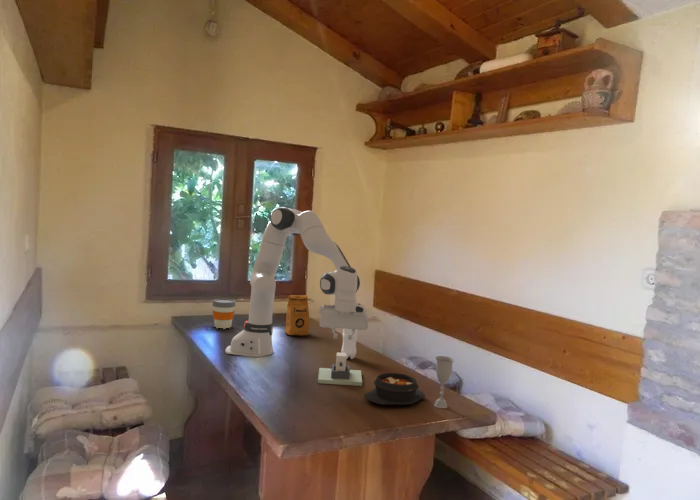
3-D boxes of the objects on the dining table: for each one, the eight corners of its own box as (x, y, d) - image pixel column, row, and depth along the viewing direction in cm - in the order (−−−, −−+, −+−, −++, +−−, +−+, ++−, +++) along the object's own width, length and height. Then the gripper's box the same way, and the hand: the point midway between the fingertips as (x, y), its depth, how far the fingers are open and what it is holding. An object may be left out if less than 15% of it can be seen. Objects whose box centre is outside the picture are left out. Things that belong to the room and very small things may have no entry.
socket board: (317, 383, 219) (318, 372, 219) (319, 371, 235) (319, 361, 235) (362, 385, 220) (362, 375, 219) (360, 373, 236) (361, 363, 235)
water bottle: (354, 360, 255) (358, 308, 253) (339, 358, 257) (343, 306, 255) (357, 356, 262) (360, 305, 260) (342, 355, 264) (346, 304, 262)
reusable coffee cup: (209, 324, 307) (210, 298, 306) (231, 324, 312) (232, 298, 311) (213, 330, 295) (215, 302, 294) (236, 329, 301) (237, 302, 300)
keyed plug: (335, 379, 221) (336, 357, 220) (335, 372, 230) (336, 351, 229) (344, 379, 221) (346, 358, 220) (344, 373, 230) (346, 352, 229)
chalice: (429, 401, 207) (433, 355, 205) (447, 402, 207) (451, 356, 206) (434, 409, 199) (438, 361, 198) (452, 409, 200) (456, 362, 199)
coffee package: (309, 336, 296) (312, 296, 294) (287, 336, 292) (289, 296, 290) (305, 332, 305) (308, 293, 304) (284, 332, 301) (286, 293, 300)
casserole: (384, 414, 191) (386, 391, 190) (353, 397, 206) (355, 375, 205) (435, 403, 206) (437, 381, 205) (403, 388, 221) (405, 368, 220)
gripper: (319, 305, 221) (317, 339, 222) (369, 309, 221) (367, 342, 222) (320, 303, 227) (318, 335, 228) (368, 306, 227) (366, 338, 228)
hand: (342, 338), depth 225 cm, fingers open, 5 cm apart
